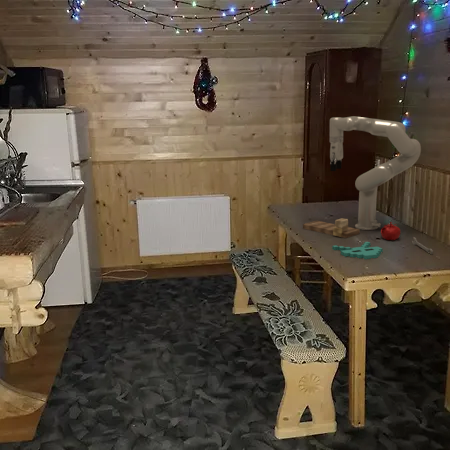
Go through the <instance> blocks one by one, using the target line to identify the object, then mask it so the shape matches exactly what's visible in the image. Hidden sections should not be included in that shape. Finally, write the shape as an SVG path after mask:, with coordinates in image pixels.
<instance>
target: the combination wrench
mask: <svg viewBox="0 0 450 450" xmlns="http://www.w3.org/2000/svg"><path fill="white" fill-rule="evenodd" d="M412 238H413V240H411V243H412V245H414V246H418V247H420V248H421V249H423V251H425V252H427V253H430V254H431V255H433V253H434V252H433V251H434V250H433V249H432V248H428V247H426V246H425V245H423V243H420V242H418V240H417V238H416V237H414V236H413V237H412Z"/></svg>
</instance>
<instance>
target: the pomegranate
mask: <svg viewBox="0 0 450 450" xmlns="http://www.w3.org/2000/svg"><path fill="white" fill-rule="evenodd" d="M380 234H381V238H382V239H384V240H386V241H395V240H398V239H399V238H400V236H401V229H400V227H399V226H398V224H397V223H393V221H390V222H389V223H387V224H384V225H383V227H382V228H381V229H380Z"/></svg>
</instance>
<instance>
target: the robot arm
mask: <svg viewBox="0 0 450 450" xmlns="http://www.w3.org/2000/svg"><path fill="white" fill-rule="evenodd" d="M353 130H354V131H360V132H361V131H362V132H366V133H370V134H371V135H372V136H378V137H386V138H388V140H389V141H390V143H391V144H392V145H393V146H394V148H395V149H396V150H397V152H399V153H400V154H399V155H397V156H395V157H394V158H392V159H391V160H390V159H389V160H388V161H386V162H384V163H380V164H379V165H377V166H376V167H374V168H371V169H370V170H368V171H366V172H364V173H362V174H360V175H359V176H358V177H357V178H356V180H355V185H354V186H355V188H356V190H357V191H359V193H358V194H359V195H358V215H357V220H358V221H357V223H356V224H355V225H354V227H355V229H360V230H361V231H362V230H363V231H371V230H373V231H374V230H377V229H378V228H381V226H382V223H380V222H378V220H377V219H376V216H377V195H378V187H379V186H381V185H383V184H385V183H386V182H388V181H390V180H391V179H392V178H394V177H395V176H397V175H399V174H401V173H402V172H405V171H406V170H408V169H409V168H411V167H412V166H413V165H415V164H416V163H417V161H418V160H419V158H420V156H421V152H422V146H421V143H420V142H419V140H418V139H415V138H410V136H409V135H408V134H407V133H406V130H407V129H406V125H405V124H404V123H402V122H399V121H395V120H394V121H393V120H386V119H385V120H384V119H379V118H369V117H361V116H354V115H353V116H347V117H340V116H339V117H334V116H333V117H331V118H330V119H329V144H330V148H329V159H330V160H329V161H330V163H329V165H330V166H329V167H330V169H329V170H330V172H336V171H337V169H339V170H340V169H342V159H343V158H344V145H343V143H344V131H346V132H351V131H353Z"/></svg>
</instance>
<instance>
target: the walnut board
mask: <svg viewBox="0 0 450 450" xmlns="http://www.w3.org/2000/svg"><path fill="white" fill-rule="evenodd" d="M334 227H335V223H329V222H325V221H320V220H314V221H310V222H306V223H303V224H302V229H303V230H304V229H305V230H308V231H312V232H317V233H322V234H325V235H329V236H335V235H333V228H334ZM360 231H361V229H358V228H356V227H355V228H354V227H350V226H348V230H347V231H344V232H342V237H341V238H344V239H348V238H351V237H355V236H357V235H360ZM335 237H336V236H335Z"/></svg>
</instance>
